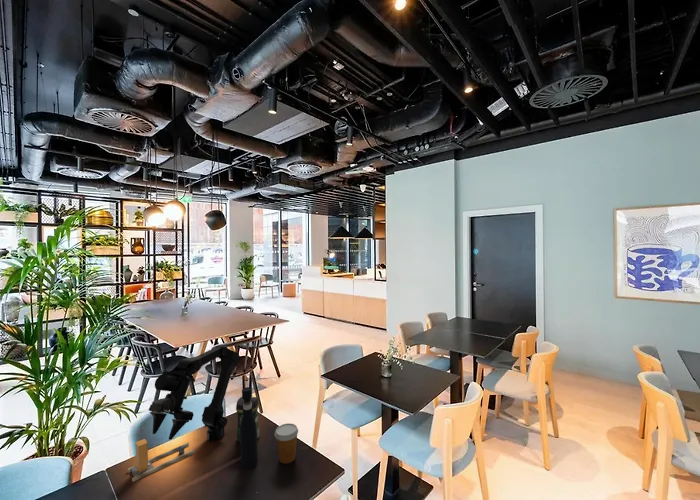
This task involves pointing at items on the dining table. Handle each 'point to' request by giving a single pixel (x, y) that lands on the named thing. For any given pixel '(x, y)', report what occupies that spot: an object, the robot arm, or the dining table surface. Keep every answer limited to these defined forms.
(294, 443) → the disposable coffee cup
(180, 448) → the keeper hook
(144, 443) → the tan slider block
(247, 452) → the wine bottle
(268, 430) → the dining table surface
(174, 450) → the rail board
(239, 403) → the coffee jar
